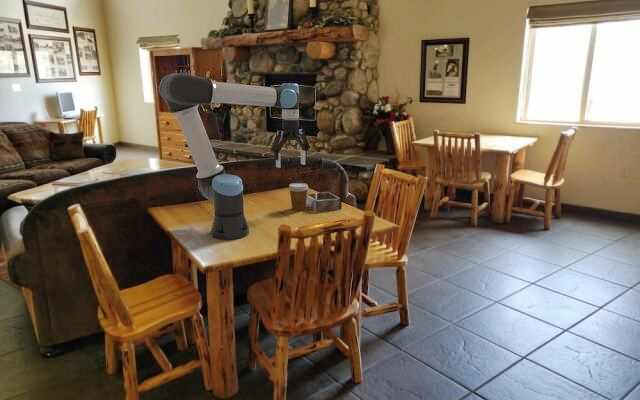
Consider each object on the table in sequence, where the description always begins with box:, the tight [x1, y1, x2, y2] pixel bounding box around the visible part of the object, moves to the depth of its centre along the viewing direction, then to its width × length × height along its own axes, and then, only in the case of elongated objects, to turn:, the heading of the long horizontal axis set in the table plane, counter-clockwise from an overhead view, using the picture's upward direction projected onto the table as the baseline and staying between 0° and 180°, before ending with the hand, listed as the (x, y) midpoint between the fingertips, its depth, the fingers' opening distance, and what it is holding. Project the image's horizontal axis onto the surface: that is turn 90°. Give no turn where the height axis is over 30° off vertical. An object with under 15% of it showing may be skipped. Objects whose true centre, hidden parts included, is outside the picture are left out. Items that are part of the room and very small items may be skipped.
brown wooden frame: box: [307, 191, 343, 213], centre depth 220 cm, size 12×16×5 cm
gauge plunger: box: [306, 191, 318, 212], centre depth 218 cm, size 6×11×9 cm, turn 22°
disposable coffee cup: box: [288, 182, 309, 212], centre depth 215 cm, size 10×10×12 cm
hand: (290, 165), depth 207 cm, fingers open, 13 cm apart
